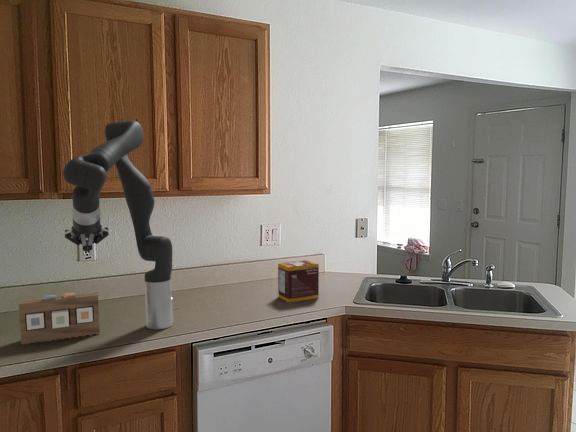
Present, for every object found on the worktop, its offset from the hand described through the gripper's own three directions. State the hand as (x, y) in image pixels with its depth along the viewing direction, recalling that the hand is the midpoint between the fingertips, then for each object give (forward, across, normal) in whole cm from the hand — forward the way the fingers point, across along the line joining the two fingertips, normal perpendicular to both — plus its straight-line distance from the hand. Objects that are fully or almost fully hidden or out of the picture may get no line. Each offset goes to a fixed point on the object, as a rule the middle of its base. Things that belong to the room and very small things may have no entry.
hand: (87, 249), depth 148 cm
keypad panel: (+32, +9, +13) cm, 36 cm away
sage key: (+27, +9, +11) cm, 30 cm away
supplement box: (+39, -86, +7) cm, 95 cm away
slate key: (+28, +17, +10) cm, 34 cm away
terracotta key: (+28, +2, +10) cm, 30 cm away
